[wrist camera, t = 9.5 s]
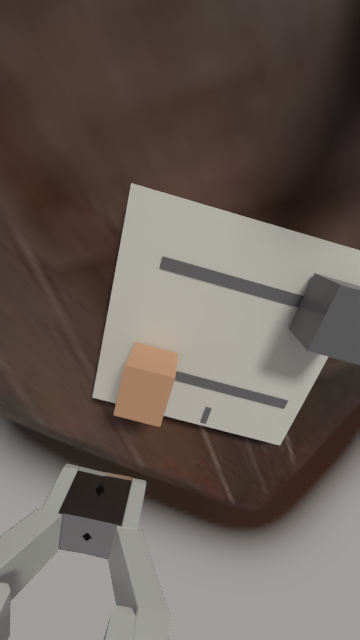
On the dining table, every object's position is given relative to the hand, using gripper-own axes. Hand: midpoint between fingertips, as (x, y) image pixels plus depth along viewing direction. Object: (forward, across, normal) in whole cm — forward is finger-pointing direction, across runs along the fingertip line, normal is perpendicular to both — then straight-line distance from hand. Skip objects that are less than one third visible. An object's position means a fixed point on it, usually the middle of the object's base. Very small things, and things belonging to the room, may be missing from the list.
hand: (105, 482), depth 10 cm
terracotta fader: (+15, 0, +4) cm, 15 cm away
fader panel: (+17, -6, 0) cm, 18 cm away
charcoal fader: (+15, -13, -5) cm, 20 cm away
